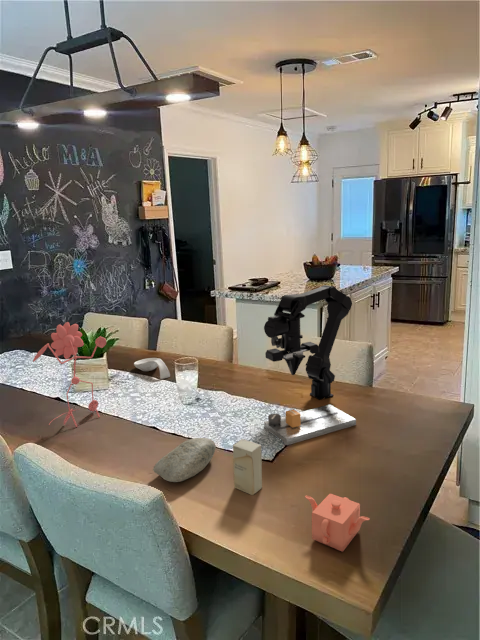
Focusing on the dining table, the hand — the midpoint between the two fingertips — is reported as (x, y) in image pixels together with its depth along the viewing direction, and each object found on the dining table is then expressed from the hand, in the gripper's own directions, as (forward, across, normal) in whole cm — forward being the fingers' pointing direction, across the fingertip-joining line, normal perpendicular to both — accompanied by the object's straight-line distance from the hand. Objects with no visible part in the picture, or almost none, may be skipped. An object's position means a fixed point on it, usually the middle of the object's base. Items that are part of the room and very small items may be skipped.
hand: (293, 374), depth 168 cm
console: (+12, +4, +16) cm, 20 cm away
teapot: (+12, +29, +63) cm, 70 cm away
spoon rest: (+12, +33, -66) cm, 75 cm away
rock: (+12, +48, +21) cm, 53 cm away
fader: (+10, +10, +16) cm, 21 cm away
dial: (+10, +15, +12) cm, 21 cm away
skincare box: (+12, +37, +37) cm, 54 cm away
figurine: (+12, +70, -33) cm, 78 cm away
